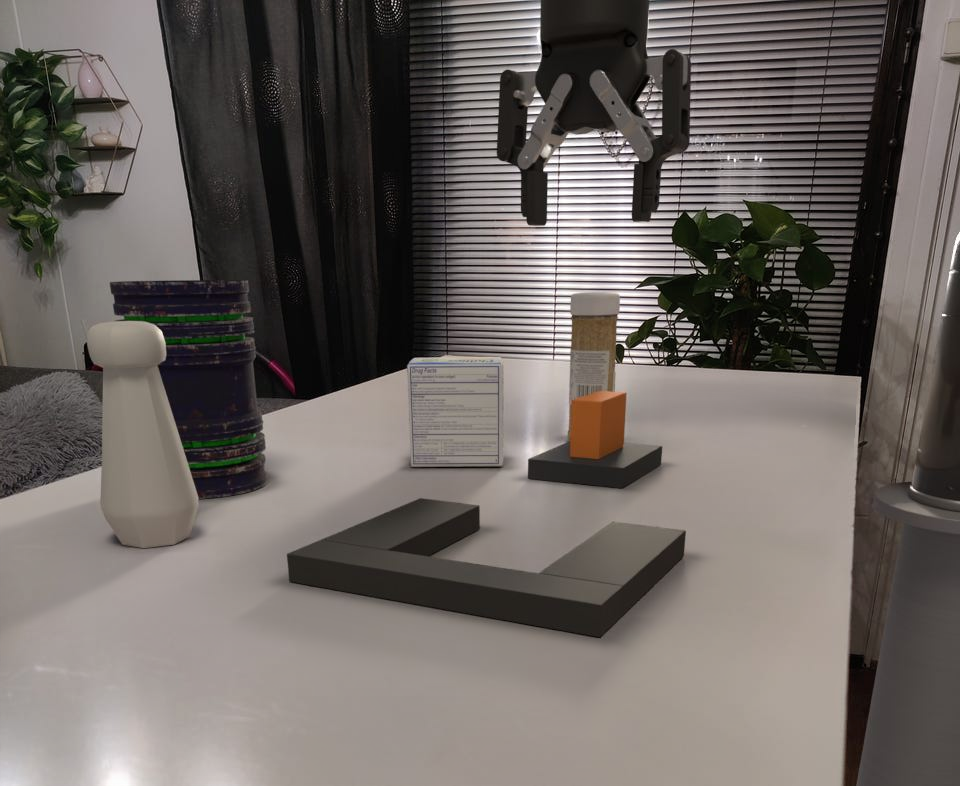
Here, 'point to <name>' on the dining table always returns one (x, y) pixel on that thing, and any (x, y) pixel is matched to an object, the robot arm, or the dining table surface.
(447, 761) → the dining table surface
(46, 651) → the dining table surface
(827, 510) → the dining table surface
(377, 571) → the large u-shaped block
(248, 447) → the storage jar
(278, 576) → the dining table surface
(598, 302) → the sprinkles bottle
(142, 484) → the salt shaker
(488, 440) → the medicine box
